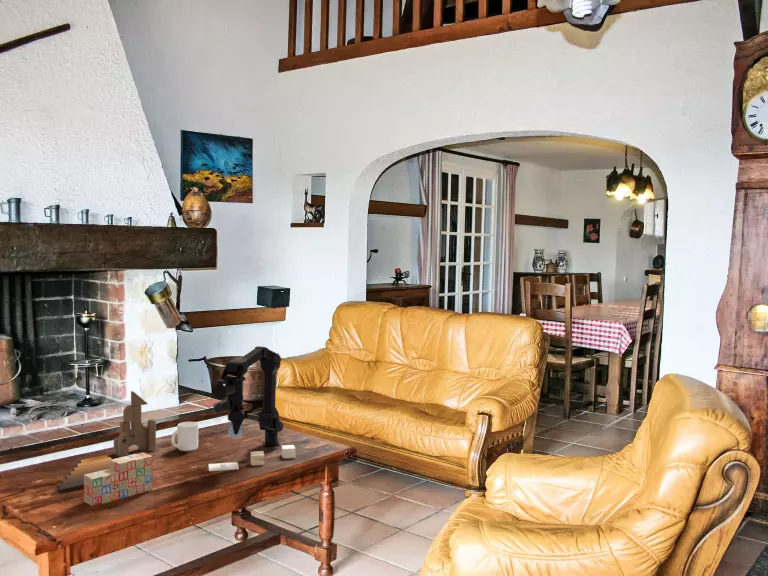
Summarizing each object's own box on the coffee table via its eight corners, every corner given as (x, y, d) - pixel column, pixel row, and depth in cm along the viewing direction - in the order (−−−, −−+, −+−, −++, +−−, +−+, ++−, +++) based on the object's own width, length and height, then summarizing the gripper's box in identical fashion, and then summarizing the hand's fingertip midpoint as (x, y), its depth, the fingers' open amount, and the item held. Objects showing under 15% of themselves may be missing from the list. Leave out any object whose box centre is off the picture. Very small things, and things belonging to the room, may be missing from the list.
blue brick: (228, 433, 271) (228, 423, 270) (241, 432, 272) (241, 423, 271) (229, 437, 266) (229, 427, 265) (242, 436, 267) (242, 426, 267)
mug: (176, 454, 277) (176, 429, 276) (165, 450, 282) (165, 425, 282) (202, 448, 286) (202, 424, 285) (190, 444, 291) (190, 420, 291)
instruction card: (208, 464, 265) (208, 463, 265) (237, 462, 268) (237, 462, 268) (208, 471, 258) (208, 470, 258) (238, 469, 261) (238, 468, 261)
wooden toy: (120, 458, 271) (119, 395, 270) (113, 454, 276) (112, 393, 275) (157, 450, 282) (157, 390, 280) (150, 446, 287) (150, 388, 285)
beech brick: (250, 461, 270) (250, 451, 270) (263, 461, 271) (263, 451, 271) (251, 465, 265) (251, 455, 265) (264, 465, 267) (264, 455, 266)
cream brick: (281, 455, 279) (281, 445, 279) (293, 454, 281) (293, 444, 280) (282, 458, 275) (282, 449, 274) (295, 458, 276) (295, 448, 276)
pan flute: (60, 495, 232) (132, 479, 250) (60, 485, 232) (132, 469, 249) (36, 476, 250) (105, 462, 268) (36, 467, 250) (105, 453, 267)
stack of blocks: (92, 507, 222) (91, 470, 221) (83, 502, 226) (83, 465, 225) (153, 490, 238) (152, 455, 237) (143, 485, 242) (143, 451, 241)
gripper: (214, 388, 275) (214, 427, 276) (214, 399, 256) (214, 440, 258) (242, 387, 277) (242, 425, 278) (244, 398, 259) (244, 438, 260)
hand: (235, 432), depth 269 cm, fingers closed on blue brick, 5 cm apart
